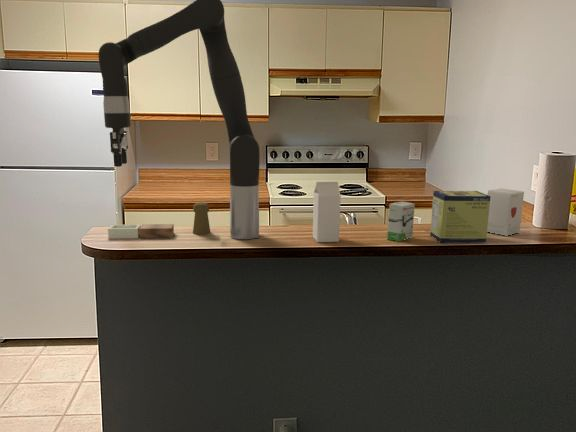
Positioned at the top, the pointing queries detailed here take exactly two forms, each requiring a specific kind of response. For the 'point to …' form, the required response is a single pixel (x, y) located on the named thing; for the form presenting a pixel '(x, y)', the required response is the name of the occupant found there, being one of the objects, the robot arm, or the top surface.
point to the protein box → (460, 216)
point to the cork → (201, 219)
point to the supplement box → (505, 211)
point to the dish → (123, 231)
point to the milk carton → (326, 212)
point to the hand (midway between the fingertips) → (120, 165)
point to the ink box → (400, 221)
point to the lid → (156, 230)
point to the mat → (155, 238)
